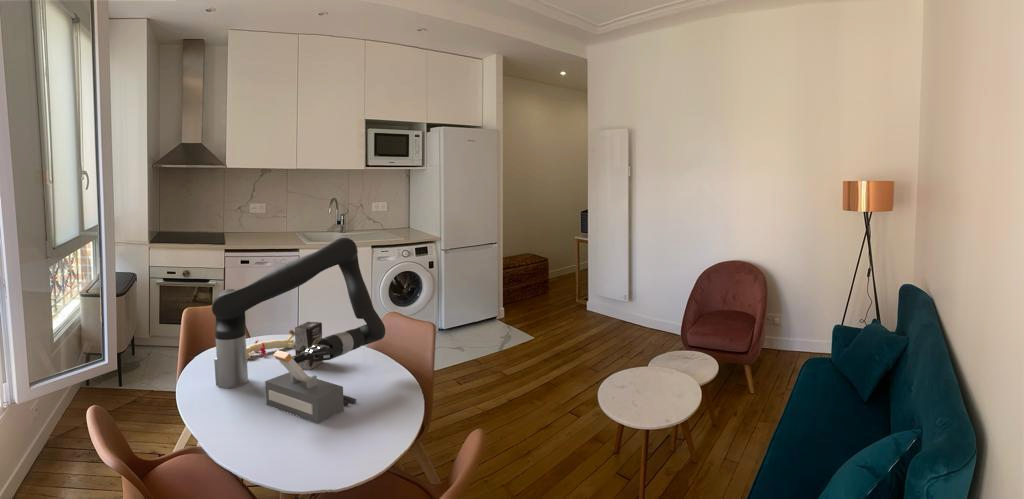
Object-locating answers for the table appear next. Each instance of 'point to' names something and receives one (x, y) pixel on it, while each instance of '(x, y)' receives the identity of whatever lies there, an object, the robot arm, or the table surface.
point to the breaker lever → (291, 365)
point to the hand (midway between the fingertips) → (292, 360)
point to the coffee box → (308, 340)
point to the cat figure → (270, 345)
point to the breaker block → (306, 397)
